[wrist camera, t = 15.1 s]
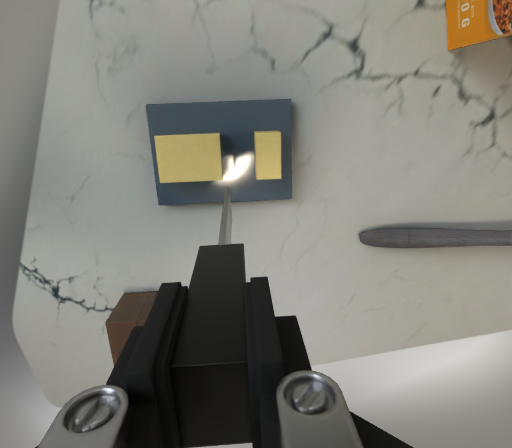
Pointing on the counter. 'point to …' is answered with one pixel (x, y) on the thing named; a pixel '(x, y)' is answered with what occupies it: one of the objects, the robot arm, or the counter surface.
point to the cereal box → (477, 21)
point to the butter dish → (233, 148)
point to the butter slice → (267, 154)
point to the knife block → (128, 318)
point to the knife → (213, 348)
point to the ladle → (434, 237)
